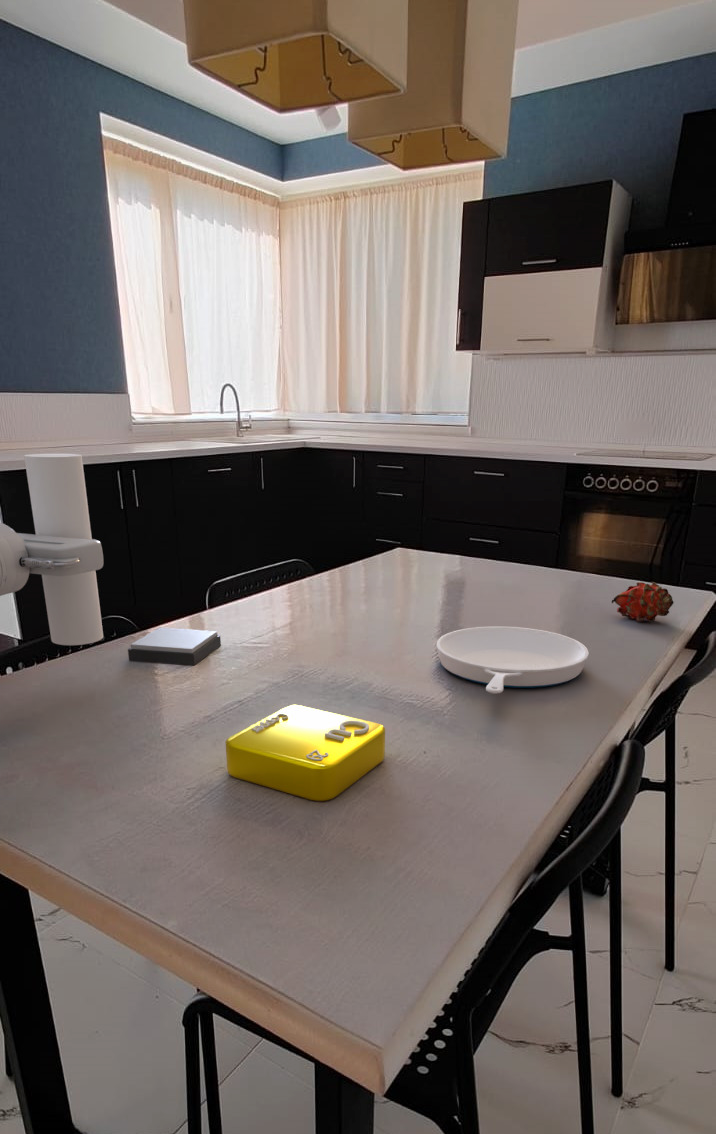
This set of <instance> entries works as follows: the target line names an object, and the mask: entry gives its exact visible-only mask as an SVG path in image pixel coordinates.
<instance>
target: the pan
mask: <svg viewBox="0 0 716 1134" xmlns="http://www.w3.org/2000/svg"><path fill="white" fill-rule="evenodd" d="M435 646H436V648H437V655H438V659H439V661H440V664H441V666H442V667H443V668H444V669H446V670H447V671H448V672H450V673H451V674H453V675H454V676H457V677H459V678H462V679H464V680H468V681H471V682H474V683H477V684H482V685H486V687H485V691H486V692H487V693H489V694H501V693H503V691H504V688H515V689H516V688H517V689H518V688H519V689H521V688H523V689H524V688H525V689H530V688H531V689H532V688H544V687H550V686H556V685H560V684H563V683H566V682H568V681H572V680H573V679H575V678H576V677H578V676H579V675H580V674H581V673H582V671H583V669H584V667H585V664H586V661H587V660H588V657H589V655H590V654H589V649H588V648H587V647H586V646H585V645H584V643H582V642H580V641H578V640H577V639H574V638H572V637H569V636H567V635H563V634H560V633H557V632H553V631H548V630H542V629H536V628H529V627H519V626H502V625H501V626H500V625H499V626H497V625H496V626H495V625H494V626H492V625H491V626H476V627H467V628H462V629H457V630H454V631H450V632H447V633H445V634H443V635H441V636H440V637H439V638H438V639H437V640H436V644H435Z"/></svg>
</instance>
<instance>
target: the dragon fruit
mask: <svg viewBox="0 0 716 1134" xmlns="http://www.w3.org/2000/svg"><path fill="white" fill-rule="evenodd" d="M650 583H651V584H649V583H645V582H641V581H640V582H639V581H637V582H636V585H629V586H628V588H627V589H626V590H625V591H621V592H620V593H619V594H617V595H615V597H613V599H612V600H611V604H614V603H615V604H616V605H617V606H619V607H617V608H616V612H617V613H619V614H620V615H621V616H622V617H625V618H629V619H631V620H634V619H636V622H637V623H638V622H641V621H645V620H646V621H647V622H654V621H655V620H656V617H658V616H659V617H666V616H667V615H669V614H670V609H671V607H673V605H674V603H675V602H674V600H673V596H672V595H671V594H670V593H669V590H668V589H667V588H665V587H663V588H662V586H661V585H659V584H657V582H654V581H651V582H650Z"/></svg>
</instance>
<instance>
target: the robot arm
mask: <svg viewBox="0 0 716 1134" xmlns="http://www.w3.org/2000/svg"><path fill="white" fill-rule="evenodd" d="M103 567H104V553H103V547H102V542H101V541H100V540H97V539H95V538H92V539H78V538H66V537H55V536H44V535H36V534H34V533H33V534H32V533H21V532H16V531H15V530H14V529H13V528H11V527H10V526H9V525H6V523H3V522H0V597H1V596H2V597H3V596H4V595H9V594H12V593H16V592H18V591H21V590H22V589H23V588H24V586H26V584H27V582H28V580H29V576H30V574H32V575H33V574H34V575H41V576H42V575H51V576H68V575H75V574H81V573H86V572H90V571H99V570H101V569H102V568H103Z"/></svg>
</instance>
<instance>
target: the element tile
mask: <svg viewBox="0 0 716 1134" xmlns="http://www.w3.org/2000/svg"><path fill="white" fill-rule="evenodd" d="M224 743H225V754H226V755H225V759H226V770H227V773H228V775H230V776H231V777H233V778H235V779H238V780H242V781H245V782H248V783H253V784H255V785H259V786H263V787H265V788H268V789H273V790H276V791H280V792H283V793H286V794H289V795H293V796H296V797H300V798H303V799H306V800H310V801H314V802H325V801H330V800H332V799H334V798H336V797H338V796H339V795H341V793H343V792H344V791H346V790H347V789H348V788H349V787H351V786H352V785H354V783H356V782H357V781H359V780H360V779H361V778H362V777H364V776H365V775H366V774H368V773H369V772H370V771H372V770H373V769H374V768H376V767H377V766H378V765H380V764H381V763H382V762H383V761H384V759H385V756H386V728H385V726H384V725H383V724H381V723H377V722H374V721H369V720H365V719H361V718H356V717H352V716H348V715H342V714H338V713H334V712H329V711H325V710H321V709H318V708H317V709H316V708H312V707H308V706H303V705H298V704H291V705H289V706H285V707H283V708H281V709H279V710H278V711H275V712H273V713H272V714H269V715H268V716H266V717H264V718H262V719H260V720H259V721H257V722H255V723H253V724H251V725H249V726H248V727H245V728H243V729H241V730H240V731H238V732H236V733H234V734H232V735H230V736H229V737H228V738H227V739H226V740H225V742H224Z"/></svg>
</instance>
